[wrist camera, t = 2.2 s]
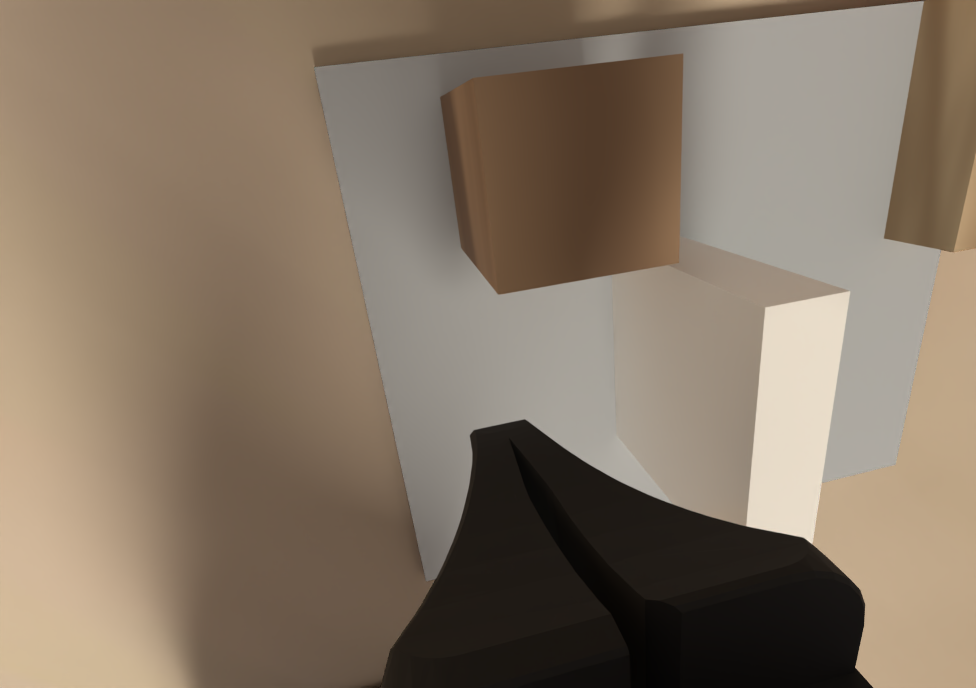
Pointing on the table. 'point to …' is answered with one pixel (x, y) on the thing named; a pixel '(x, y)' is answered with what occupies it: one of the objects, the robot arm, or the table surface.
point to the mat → (588, 303)
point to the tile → (729, 384)
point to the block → (568, 170)
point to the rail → (939, 135)
